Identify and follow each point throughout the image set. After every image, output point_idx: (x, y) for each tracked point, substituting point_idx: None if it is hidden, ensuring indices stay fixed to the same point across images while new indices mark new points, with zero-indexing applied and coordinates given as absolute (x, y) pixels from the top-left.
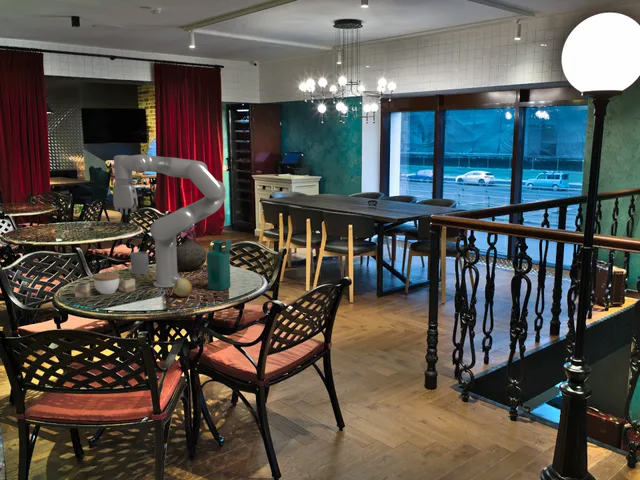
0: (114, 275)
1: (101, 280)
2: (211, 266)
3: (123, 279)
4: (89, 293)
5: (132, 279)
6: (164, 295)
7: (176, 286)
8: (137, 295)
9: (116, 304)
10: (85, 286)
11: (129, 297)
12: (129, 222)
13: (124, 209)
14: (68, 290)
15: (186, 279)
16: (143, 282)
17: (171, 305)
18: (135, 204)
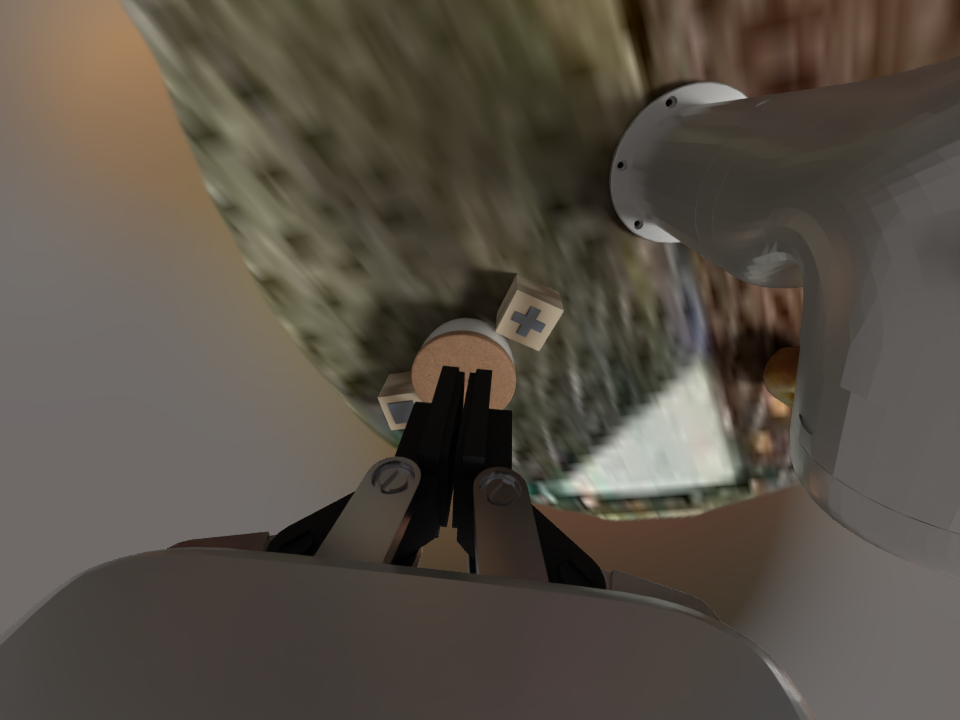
0: (501, 383)
1: None
2: None
3: (513, 322)
4: None
5: (554, 317)
6: (707, 351)
7: (789, 393)
8: (601, 364)
9: (576, 455)
10: None
11: (582, 389)
12: (491, 376)
13: (373, 560)
14: (311, 339)
15: None
16: (532, 143)
17: (755, 447)
18: (707, 698)
